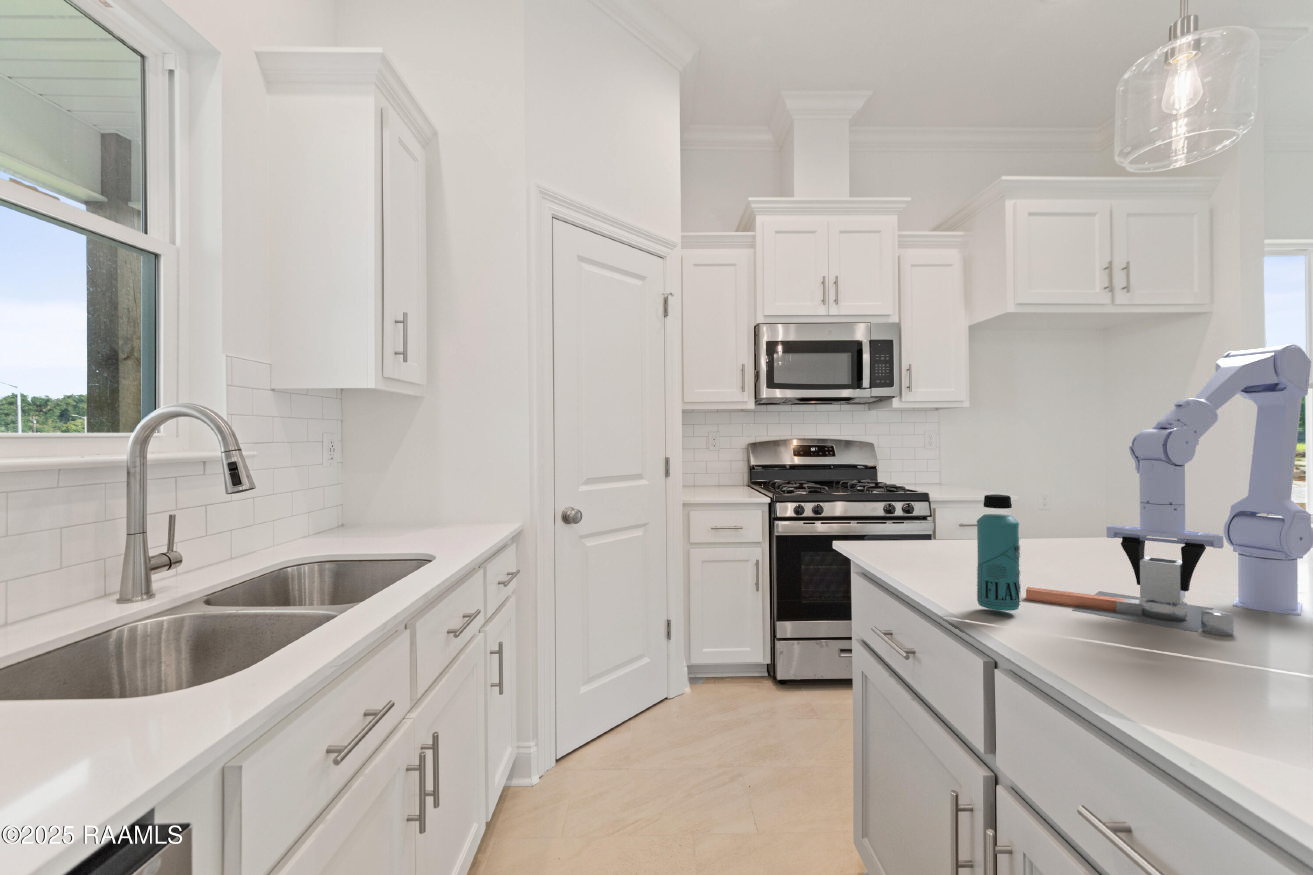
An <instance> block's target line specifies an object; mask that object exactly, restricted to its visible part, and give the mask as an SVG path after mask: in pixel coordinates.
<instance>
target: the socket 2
mask: <svg viewBox="0 0 1313 875" xmlns="http://www.w3.org/2000/svg"><path fill="white" fill-rule="evenodd" d="M1234 618H1235V615H1234V614H1232V613H1229V612H1226V611H1221V610H1217V609H1216V610H1214V609H1213V610H1202V611H1201V628H1200V631H1201V632H1202V633H1204V634H1208V635H1212V636H1218V637H1226V638H1227V637H1234V635H1235V633H1234V632H1235V628H1234V626H1235V623H1234V621H1235V619H1234Z"/></svg>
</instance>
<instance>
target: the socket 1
mask: <svg viewBox="0 0 1313 875" xmlns="http://www.w3.org/2000/svg"><path fill="white" fill-rule="evenodd" d="M1181 582H1182V559H1176V558H1175V559H1174V558H1164V557H1156V556H1149V555H1148V556H1147V555H1146V556H1144V558H1143V559H1141V560H1140V585H1139V597H1140V598H1147V599H1153V600H1160V601H1167V602H1173V603H1181V602H1182V601H1184V600H1185V599H1186V591H1182V586H1181Z"/></svg>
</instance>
